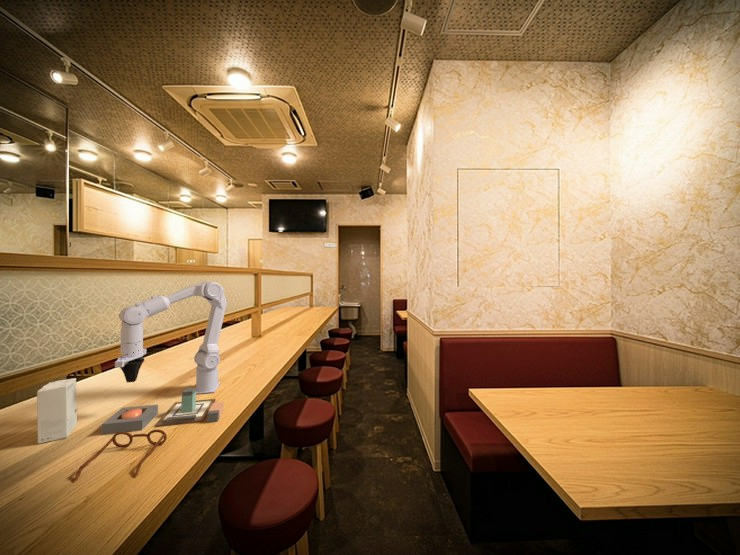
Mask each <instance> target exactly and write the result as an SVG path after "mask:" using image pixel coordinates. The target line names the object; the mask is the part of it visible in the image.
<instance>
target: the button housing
mask: <svg viewBox="0 0 740 555" xmlns="http://www.w3.org/2000/svg"><path fill="white" fill-rule="evenodd" d="M131 409H142V414H141V415H140V416H139V417H138V418H128V419H122V413H124V412H125V411H128V410H131ZM158 414H159V404H149V405H140V406H139V405H137V406H128V407H121V408H120V409H119V410H118V411H117V412H115V413H114V414H113V415H111V416H110V417H109V418H107V419H106V420H105V421H104V422H102V424H101V435H107V434H109V435H110V434H116V433H118V432H128V433H129V432H135V431H137V430H138V431H143V430H142V429H145V428H146V427H147V426H148V425H149V423H150V422H151V421H152V420H154V418H156V416H157V415H158Z"/></svg>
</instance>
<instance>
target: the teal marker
mask: <svg viewBox="0 0 740 555" xmlns="http://www.w3.org/2000/svg"><path fill="white" fill-rule="evenodd" d="M195 389H196V387H188V388H186V387H185V389H183V391H182V395H181V402H182V404H181V413H186V412H192V411H193V410H194V409H195V407H196V401H197V397H196V396H197V394H196V392H195Z"/></svg>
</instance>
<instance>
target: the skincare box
mask: <svg viewBox="0 0 740 555" xmlns="http://www.w3.org/2000/svg"><path fill="white" fill-rule="evenodd" d="M36 404H37V405H36V406H37V407H36V410H37V411H36V412H37V415H36V416H37V417H36V418H37V419H36V420H37V421H36V423H37V426H36V427H37V444H39V445H40V444H43V443H47V442H54V441H58V440H62V439H63V440H64V439H67V438H68V437H69V435H70V433H72V431H73V430H74V429H75V427H76V426H77V425H78V413H77V411H78V410H77V407H78V406H77V405H78V402H77V378H76V377H75V378H74V377H73V378H68V379H61V380H54V381H50V382H49V383H47V384H45V385H43V386H42V387H41V388H40V389H38V390H37V391H36Z"/></svg>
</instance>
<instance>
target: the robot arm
mask: <svg viewBox="0 0 740 555" xmlns="http://www.w3.org/2000/svg"><path fill="white" fill-rule="evenodd" d="M195 296H196V297H202V298H203V299H206V301H207V302H208V303H209V304H210V305H211V307H210V311H209V316H208V320H207V324H206V329H205V333H204V337H203V342H202V344H200V345H199V348H198V350H197V351H196V353H195V355H194V357H193V359H194V363H195V364H197V366H196V371H195V372H196V375H195V376H196V377H195V378H196V379H195V380H196V381H195V384H196V385H195V392H196V395H198V394H210V393H215V392H216V391H217V390H218V388H219V387H220V385H221V381H219V368H218V366H219V364H220V363H221V362H220V361H221V358H220V349H219V346H218V345H219V344H218V343H219V340H220V334H221V331H222V326H223V321H224V318H225V313H226V308H227V304H228V302H227V299H226V295H225V288H224V287H222V285H221V284H220V283H218V282H216V281H215V282H212V281H200V282H199V283H198V282H197V283H193V284H191V285H189V286H186V287H184V288H182V289H179V290H177V291H175V292H173V293H171V294H170V293H169V295H165V296H163V295H155V294H154V295H151V296H150V298H149V299H146V300H143V301H142V302H139V301H137V302H135V303H134V305H128V306H125V307H124V308H122V310H120V313H119V314H118V318H119V319H120V321H121V323H120V327H121V328H120V354H123V355H124V356H122V357H118V358H117V360H116V361H114V368H118V369H119V368H120V370H121V371H122V373H123V375H124V376H123V377H124V378H125V382H126V383H135V382H136V381H137V379H138V375H139V372H140V370H141V367H142V364H143V363H145V358H144V357H143V356H145V355H146V354H147V348H144V325H143V324H144V321H145V320H146V319H147V318H151V317H153V316H155V315H158V314H159V313H162V312H165V311H166V310H168V309H169V307H170V306H171V305H172V304H175V303H177V302H181V301H182V300H185V299H188V298H192V297H195ZM138 350H139V351H138ZM133 352H134V353H133ZM125 354H128V355H125Z"/></svg>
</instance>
